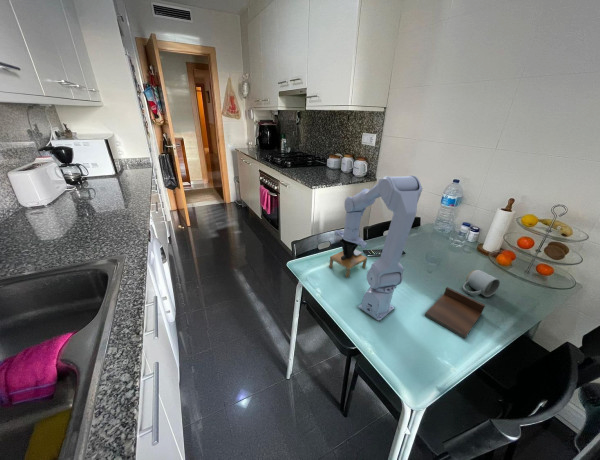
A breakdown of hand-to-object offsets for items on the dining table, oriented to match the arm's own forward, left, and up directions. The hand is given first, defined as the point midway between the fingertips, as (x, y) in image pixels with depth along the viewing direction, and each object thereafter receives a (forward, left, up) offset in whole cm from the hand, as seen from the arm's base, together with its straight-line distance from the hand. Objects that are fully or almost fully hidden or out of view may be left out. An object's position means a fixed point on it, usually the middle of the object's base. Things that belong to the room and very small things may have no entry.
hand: (347, 256), depth 103 cm
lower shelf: (+7, -40, -6) cm, 41 cm away
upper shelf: (+1, 0, -6) cm, 6 cm away
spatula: (+2, 0, 0) cm, 2 cm away
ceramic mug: (+28, -41, -6) cm, 50 cm away
